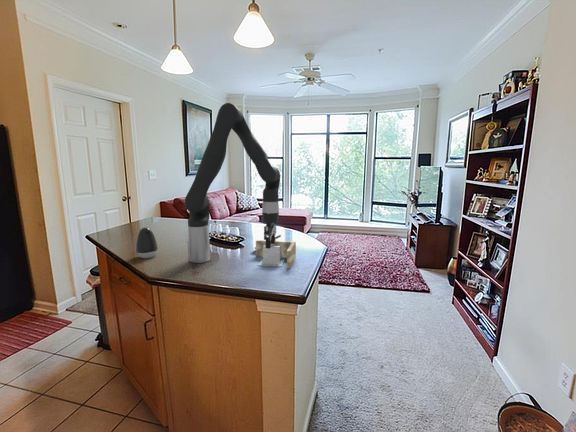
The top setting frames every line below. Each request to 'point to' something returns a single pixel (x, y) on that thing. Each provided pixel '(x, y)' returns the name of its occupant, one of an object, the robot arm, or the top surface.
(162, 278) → the top surface
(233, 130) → the robot arm
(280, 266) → the pad
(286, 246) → the arena
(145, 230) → the dark gray tapered dome
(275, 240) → the wall
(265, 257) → the bracket
